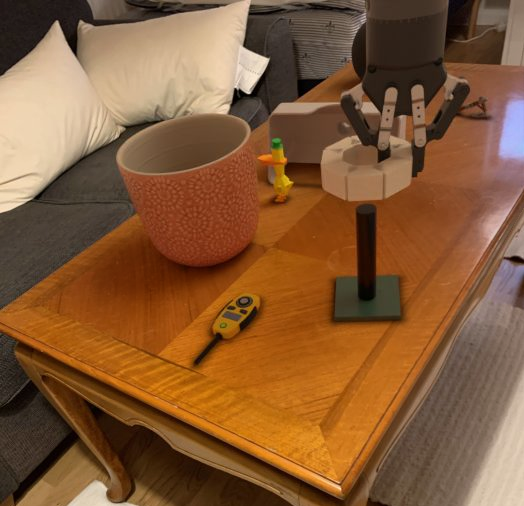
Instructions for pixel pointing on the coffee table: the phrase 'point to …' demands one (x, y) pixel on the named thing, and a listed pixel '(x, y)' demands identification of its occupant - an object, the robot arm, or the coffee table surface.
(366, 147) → the ring
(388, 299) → the peg stand
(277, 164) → the toy figure
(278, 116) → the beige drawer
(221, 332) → the yellow handheld probe meter
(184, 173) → the planter
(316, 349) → the coffee table surface
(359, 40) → the decorative egg
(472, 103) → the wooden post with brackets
